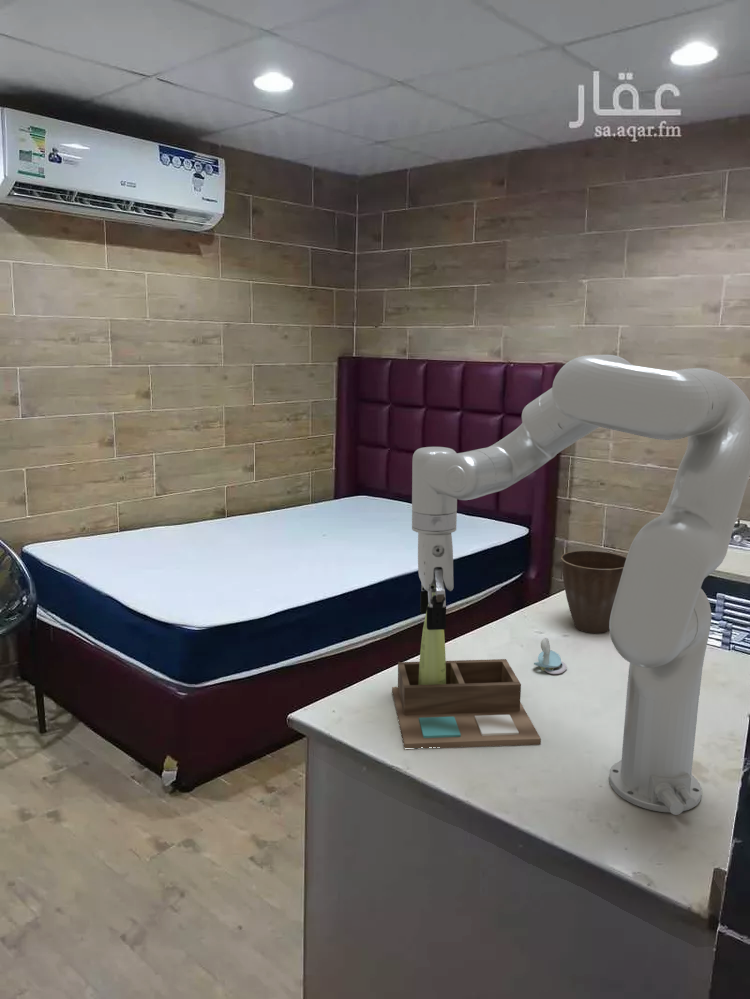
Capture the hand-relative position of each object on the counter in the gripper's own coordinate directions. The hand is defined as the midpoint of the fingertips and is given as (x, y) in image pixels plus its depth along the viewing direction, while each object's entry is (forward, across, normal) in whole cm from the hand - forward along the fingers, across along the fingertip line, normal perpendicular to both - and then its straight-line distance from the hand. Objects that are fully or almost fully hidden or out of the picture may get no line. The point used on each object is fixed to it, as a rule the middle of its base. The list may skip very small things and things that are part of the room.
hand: (432, 620), depth 132 cm
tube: (+14, 0, 0) cm, 14 cm away
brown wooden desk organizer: (+16, -4, -5) cm, 17 cm away
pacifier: (+16, +14, -26) cm, 34 cm away
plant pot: (+16, +35, -42) cm, 57 cm away
